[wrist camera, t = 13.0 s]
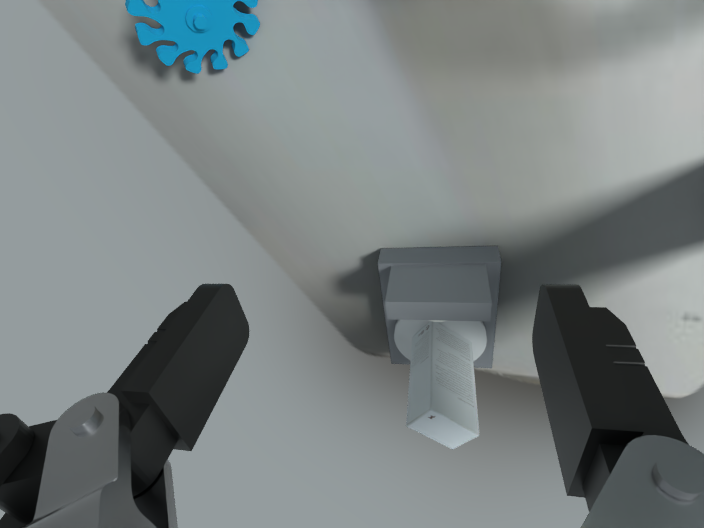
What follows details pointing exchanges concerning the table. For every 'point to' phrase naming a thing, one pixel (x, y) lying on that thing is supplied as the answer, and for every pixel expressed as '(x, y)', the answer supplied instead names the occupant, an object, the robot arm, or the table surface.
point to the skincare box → (442, 386)
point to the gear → (194, 29)
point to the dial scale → (441, 296)
